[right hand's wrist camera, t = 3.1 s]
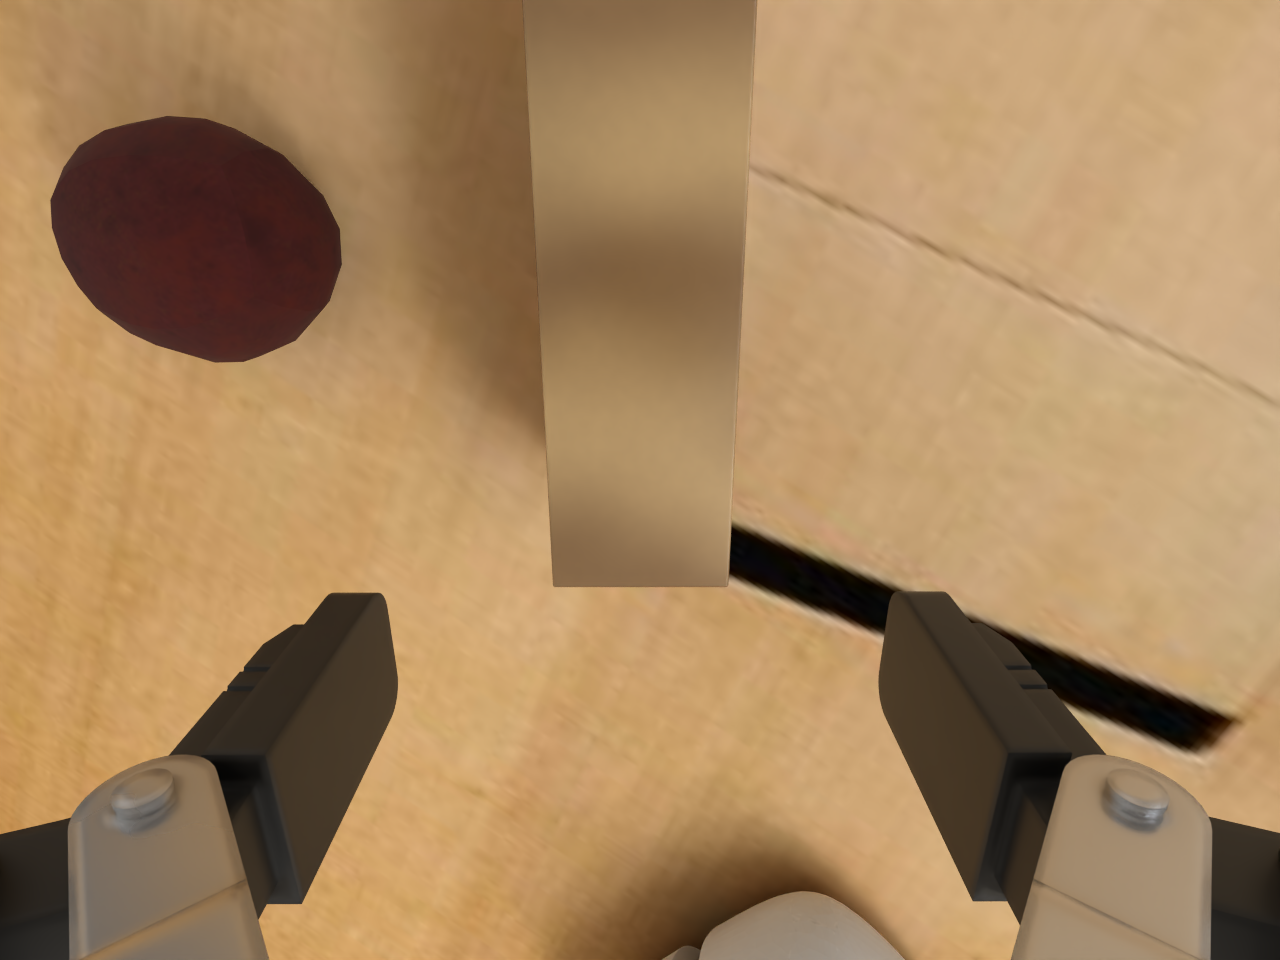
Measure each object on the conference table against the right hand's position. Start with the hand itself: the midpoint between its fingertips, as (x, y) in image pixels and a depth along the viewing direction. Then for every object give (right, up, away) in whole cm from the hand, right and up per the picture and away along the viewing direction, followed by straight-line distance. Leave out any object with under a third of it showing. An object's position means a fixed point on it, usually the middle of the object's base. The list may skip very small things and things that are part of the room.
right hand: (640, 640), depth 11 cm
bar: (0, +15, +13) cm, 20 cm away
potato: (-14, +11, +15) cm, 23 cm away
